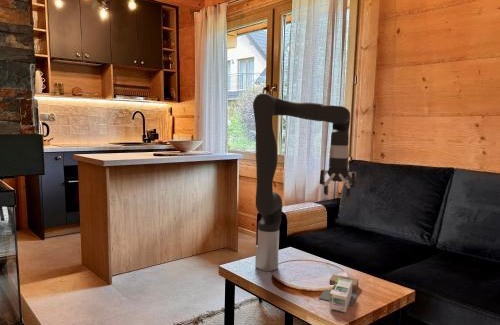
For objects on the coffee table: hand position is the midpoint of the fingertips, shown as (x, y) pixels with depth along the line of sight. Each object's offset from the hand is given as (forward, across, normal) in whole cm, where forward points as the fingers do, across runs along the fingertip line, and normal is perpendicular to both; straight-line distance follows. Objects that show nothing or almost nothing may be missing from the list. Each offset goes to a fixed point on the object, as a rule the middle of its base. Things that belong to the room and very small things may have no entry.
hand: (336, 196), depth 150 cm
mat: (+34, +6, -17) cm, 39 cm away
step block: (+34, +6, -8) cm, 36 cm away
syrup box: (+31, +7, -14) cm, 35 cm away
